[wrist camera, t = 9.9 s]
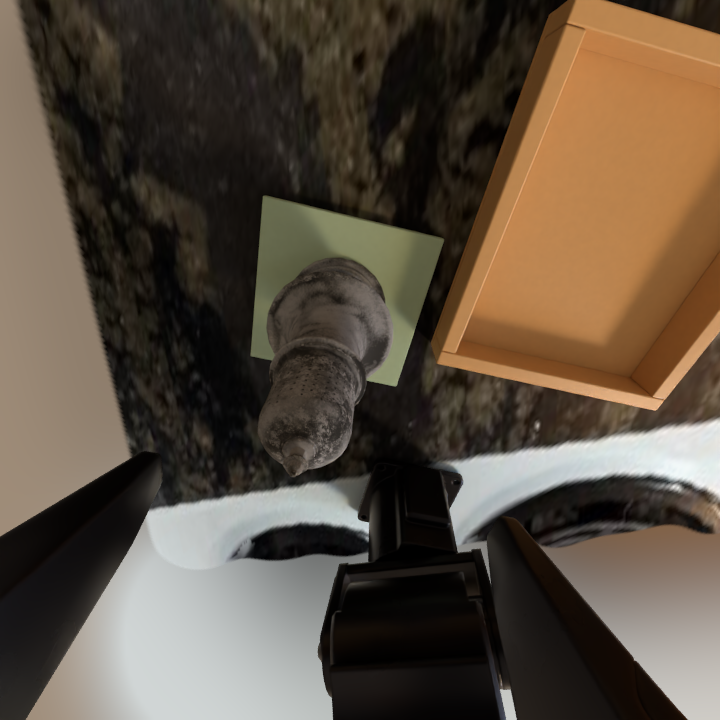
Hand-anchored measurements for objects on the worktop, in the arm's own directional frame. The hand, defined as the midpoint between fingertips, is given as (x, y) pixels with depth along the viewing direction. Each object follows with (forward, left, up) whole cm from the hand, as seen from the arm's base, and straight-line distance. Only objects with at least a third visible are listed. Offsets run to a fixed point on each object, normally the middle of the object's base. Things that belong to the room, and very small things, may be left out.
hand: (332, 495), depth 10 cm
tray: (+6, -11, -13) cm, 18 cm away
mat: (0, +1, -13) cm, 13 cm away
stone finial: (0, +1, -12) cm, 12 cm away
